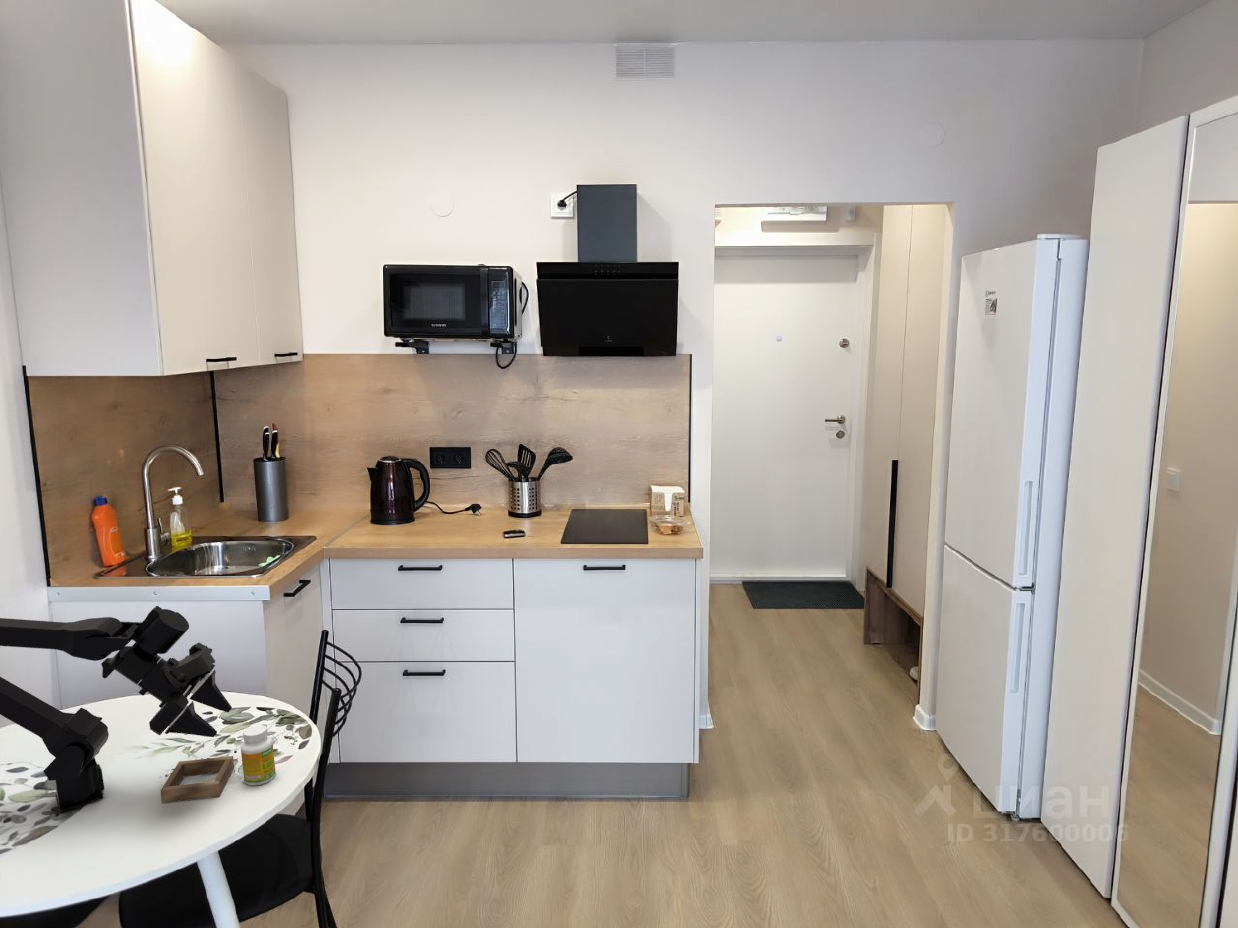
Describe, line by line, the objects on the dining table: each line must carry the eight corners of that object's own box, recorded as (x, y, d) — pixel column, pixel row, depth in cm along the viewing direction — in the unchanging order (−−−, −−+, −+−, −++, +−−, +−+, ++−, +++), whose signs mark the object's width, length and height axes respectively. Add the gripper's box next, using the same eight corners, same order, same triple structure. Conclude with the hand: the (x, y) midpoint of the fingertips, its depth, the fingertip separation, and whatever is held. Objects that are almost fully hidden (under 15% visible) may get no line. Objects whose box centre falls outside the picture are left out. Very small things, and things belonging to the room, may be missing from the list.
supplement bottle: (267, 786, 147) (262, 737, 145) (238, 786, 147) (233, 737, 145) (280, 769, 152) (275, 722, 150) (252, 769, 152) (247, 722, 151)
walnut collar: (162, 802, 142) (160, 790, 142) (180, 773, 151) (179, 761, 151) (219, 796, 144) (218, 783, 143) (234, 767, 153) (233, 755, 153)
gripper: (161, 659, 133) (239, 714, 137) (197, 619, 151) (265, 668, 155) (115, 708, 133) (194, 761, 137) (157, 662, 152) (226, 710, 155)
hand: (223, 721), depth 146 cm, fingers open, 9 cm apart
